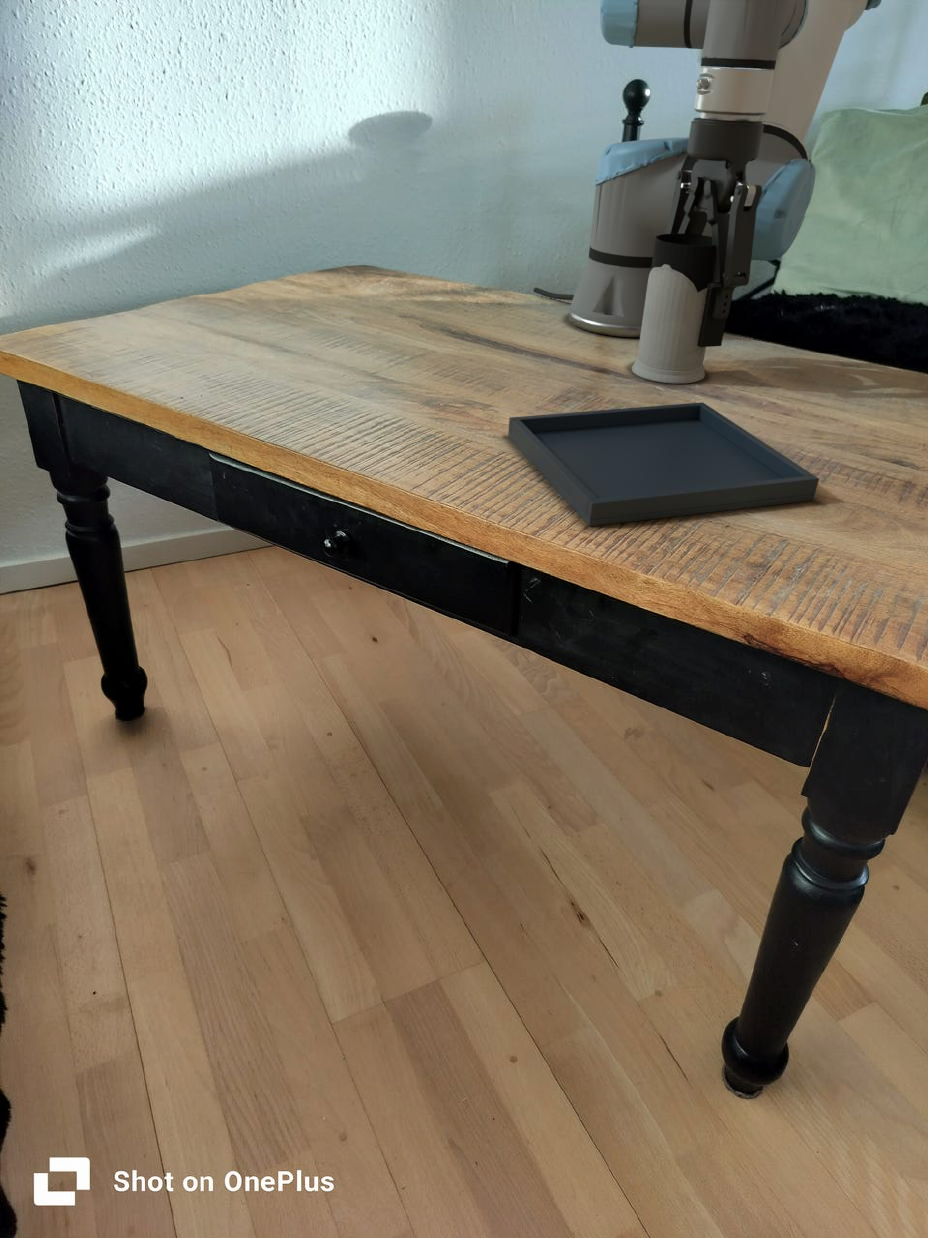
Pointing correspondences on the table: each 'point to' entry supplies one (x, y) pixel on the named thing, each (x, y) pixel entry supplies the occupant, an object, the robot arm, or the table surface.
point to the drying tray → (657, 463)
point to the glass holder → (675, 309)
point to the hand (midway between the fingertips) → (690, 335)
